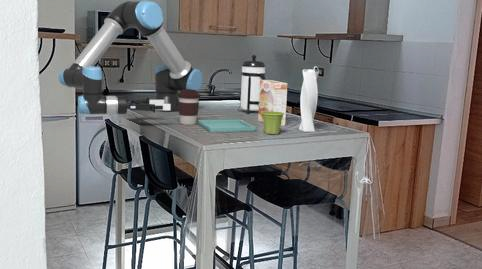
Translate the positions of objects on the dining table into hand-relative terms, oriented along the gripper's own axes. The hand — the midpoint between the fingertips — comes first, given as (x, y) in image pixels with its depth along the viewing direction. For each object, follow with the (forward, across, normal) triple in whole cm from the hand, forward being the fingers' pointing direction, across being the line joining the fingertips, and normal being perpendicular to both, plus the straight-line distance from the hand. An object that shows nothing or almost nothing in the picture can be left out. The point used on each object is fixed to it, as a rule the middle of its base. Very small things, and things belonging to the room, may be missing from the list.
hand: (167, 104), depth 216 cm
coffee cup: (+10, 0, -9) cm, 13 cm away
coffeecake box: (+48, +2, -9) cm, 49 cm away
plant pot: (+38, +26, -9) cm, 47 cm away
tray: (+24, +11, -8) cm, 27 cm away
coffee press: (+52, -32, -9) cm, 62 cm away
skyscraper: (+56, +23, -9) cm, 62 cm away
